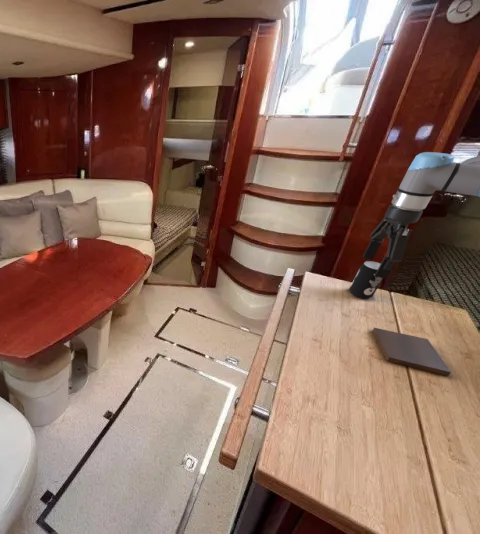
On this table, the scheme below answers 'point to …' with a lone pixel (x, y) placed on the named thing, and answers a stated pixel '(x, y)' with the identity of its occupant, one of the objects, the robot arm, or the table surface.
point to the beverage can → (366, 281)
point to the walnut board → (410, 351)
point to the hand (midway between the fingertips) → (373, 267)
